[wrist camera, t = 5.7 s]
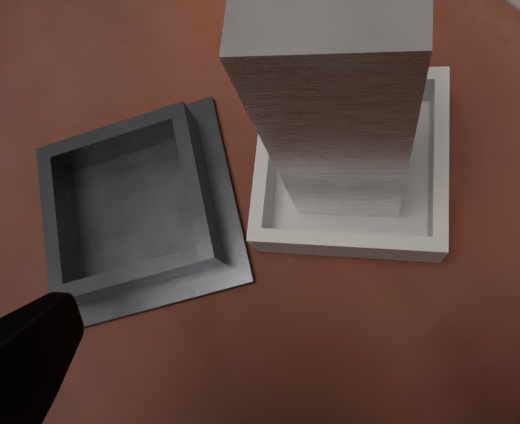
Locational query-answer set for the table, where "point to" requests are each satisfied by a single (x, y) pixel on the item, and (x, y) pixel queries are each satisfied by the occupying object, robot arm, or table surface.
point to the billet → (333, 94)
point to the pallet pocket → (142, 214)
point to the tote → (359, 227)
